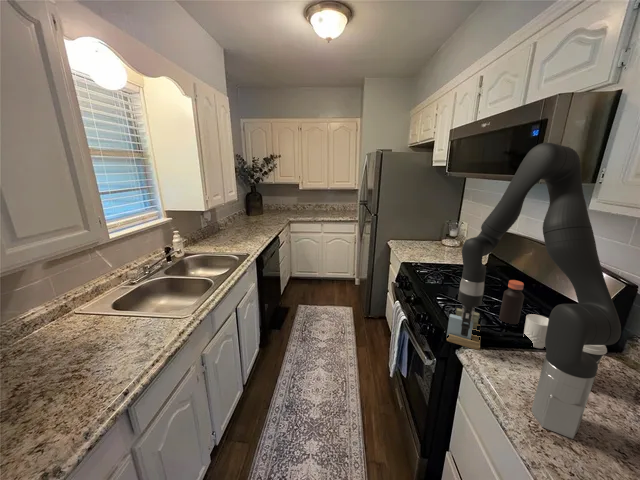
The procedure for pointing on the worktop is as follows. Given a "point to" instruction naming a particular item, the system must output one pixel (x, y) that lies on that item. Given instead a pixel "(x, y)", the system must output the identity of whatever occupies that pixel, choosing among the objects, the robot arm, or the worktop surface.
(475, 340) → the dish rack
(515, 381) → the worktop surface
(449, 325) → the pale blue-grey block
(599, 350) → the coffee cup
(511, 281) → the bottle
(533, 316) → the white cup
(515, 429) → the worktop surface
